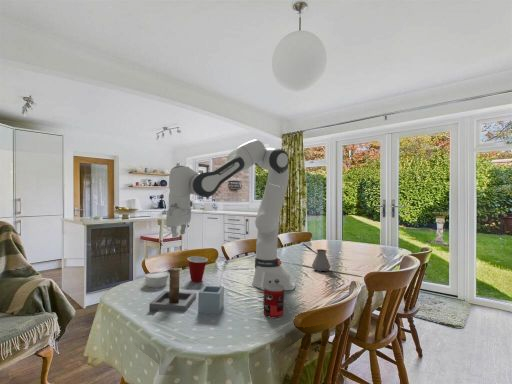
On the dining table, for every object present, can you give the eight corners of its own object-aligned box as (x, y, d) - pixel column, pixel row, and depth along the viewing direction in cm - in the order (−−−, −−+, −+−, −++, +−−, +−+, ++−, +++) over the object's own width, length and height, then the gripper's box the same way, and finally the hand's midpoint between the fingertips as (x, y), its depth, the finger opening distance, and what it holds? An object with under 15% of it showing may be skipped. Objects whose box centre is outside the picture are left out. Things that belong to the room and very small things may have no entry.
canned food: (262, 309, 117) (263, 283, 117) (281, 309, 117) (282, 283, 117) (264, 318, 109) (265, 289, 109) (284, 318, 110) (285, 289, 110)
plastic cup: (202, 284, 145) (203, 261, 145) (183, 282, 148) (183, 259, 148) (210, 278, 156) (210, 256, 156) (191, 276, 158) (192, 255, 158)
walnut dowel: (180, 300, 121) (181, 268, 121) (176, 304, 117) (177, 271, 117) (171, 300, 121) (171, 267, 121) (167, 304, 117) (168, 270, 117)
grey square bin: (223, 308, 117) (224, 286, 117) (219, 316, 109) (219, 293, 109) (203, 306, 118) (204, 285, 118) (197, 315, 110) (198, 292, 110)
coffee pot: (333, 270, 179) (334, 247, 179) (323, 274, 171) (324, 249, 171) (306, 263, 195) (307, 242, 195) (296, 266, 187) (296, 244, 187)
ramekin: (160, 279, 151) (160, 270, 151) (172, 284, 144) (172, 274, 144) (140, 284, 143) (140, 274, 143) (152, 290, 136) (152, 279, 135)
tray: (196, 299, 126) (196, 292, 126) (184, 313, 111) (185, 305, 111) (164, 297, 127) (164, 290, 127) (149, 311, 112) (149, 303, 112)
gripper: (177, 204, 110) (177, 239, 110) (193, 202, 130) (193, 232, 130) (162, 204, 110) (161, 239, 110) (180, 202, 131) (179, 232, 131)
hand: (178, 235), depth 121 cm, fingers open, 8 cm apart
